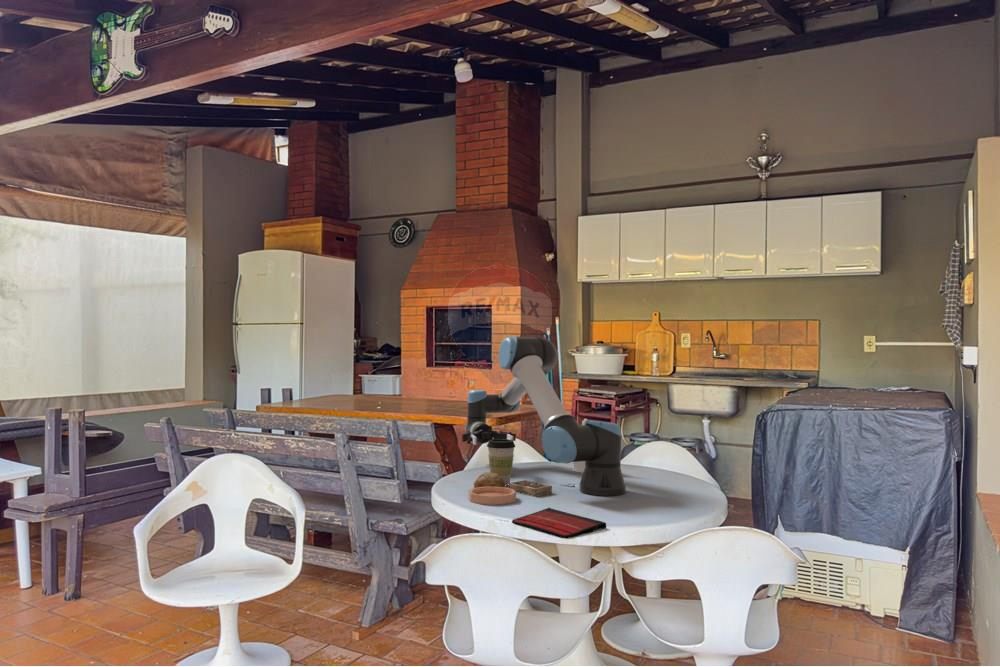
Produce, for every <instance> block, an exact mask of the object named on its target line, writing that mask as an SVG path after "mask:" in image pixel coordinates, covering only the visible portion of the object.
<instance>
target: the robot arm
mask: <svg viewBox="0 0 1000 667" xmlns="http://www.w3.org/2000/svg"><path fill="white" fill-rule="evenodd" d="M555 346H556V345H554V343H553V342H552V341H551V340H549V339H548V338H545V337H542V336H536V337H535V336H507V337H505V338H504V339H503V340H502V341H501V342H500V346H499V349H498V363H499V366H500V368H501V369H503V370H506V371H508V370H510V372H511V374H512V376H513V377H514V378H513V379H512V380H511V381H510V383H508V384H507V386H506V387H505V388H504V389H503V391H501V392H500V394H488V393H487V390H484V389H472V390H469V391H468V393H467V417H466V418H467V419H466V420H467V421H466V423H465V432H464V433H463V434H462V435H461V440H462V442H463V443H465V442H466V444H469V445H470V444H472V445H474V446H476V445H477V443H479V444H488V442H489V440H492V439H508V440H513V442H516V439H517V438H516V436H517V434H516V433H513V432H512V431H509V432H507V431H502V430H499V431H497V430H493V428H492V427H491V426H490V425H488V424H487V414H499V413H500V414H503V413H506V414H509V413H516V412H517V411H518V410H519V407H520V402H521V401H520V400H521V399H522V398H523V397H524V396H525V395H526V394H527V396H528V397H529V399H530V401H531V403H532V405H533V407H534V409H535V411H536V412H537V414H538V417H539V418H540V420H541V422H542V424H543V426H544V428H543V430H542V435H541V443H542V450H543V452H544V454H545V456H546V457H547V458H548V460H550V461H552V462H553V463H556V464H570V463H574V462H580V461H585V469H584V472H583V473H582V475H581V479H580V482H579V491H580V492H581V493H583V494H587V495H592V496H607V497H608V496H620V495H624V494H626V492H627V491H626V490H627V488H626V482H625V479H624V474H623V472H622V466H621V461H622V460H621V458H622V457H621V452H622V451H621V448H622V446H621V445H622V430H621V426H620V425H619V424H618V423H615V422H614V423H613V422H609V421H602V420H593V419H587V420H586V423H585V425H582V424H579V423H578V421H577V418H575V416H574V415H572V414H568V412H567V411H566V409H565V407H564V406H563V403H562V402H561V400H560V399H559V396H558V395H557V393H556V391H555V389H554V388H553V385H552V384H551V383H550V381H549V379H548V377H547V375H548V374H550V372H551V371H552V370H553V369H554V367H555V366H556V365H557V362H558V351H557V348H556V347H555Z"/></svg>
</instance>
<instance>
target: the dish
mask: <svg viewBox="0 0 1000 667" xmlns="http://www.w3.org/2000/svg"><path fill="white" fill-rule="evenodd" d="M467 494H468V497H467V499H468V500H469V501H470V502H471V503H474V504H479V505H488V506H489V505H490V506H498V505H497V504H499V505H507V504H506V503H508V504H511V502H512V503H514V502H515V501H516V500H517V492H516V491H515V490H513V489H510V488H509V487H507V486H505V487H494V486H491V487H478V488H474V487H473V488H470V489H469V490H468V493H467Z"/></svg>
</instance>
